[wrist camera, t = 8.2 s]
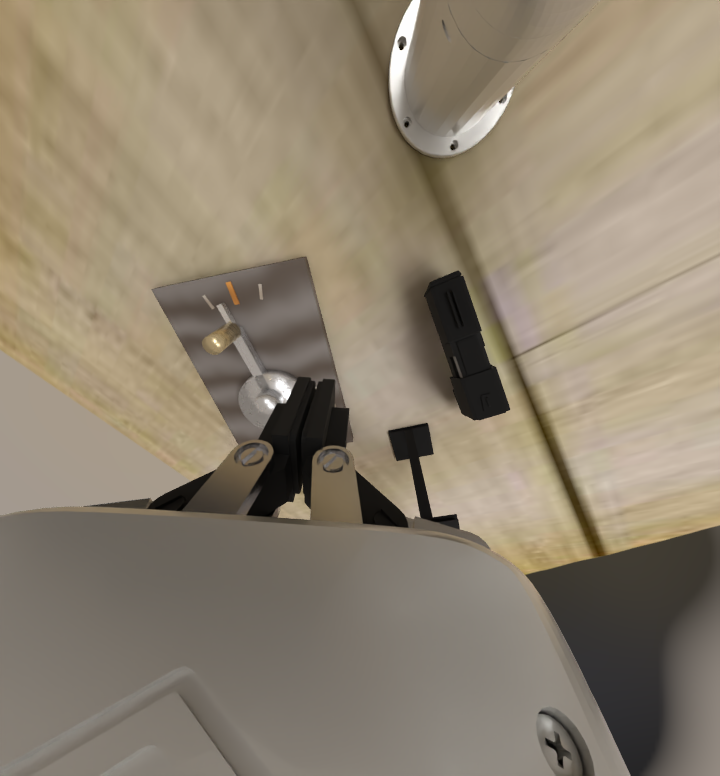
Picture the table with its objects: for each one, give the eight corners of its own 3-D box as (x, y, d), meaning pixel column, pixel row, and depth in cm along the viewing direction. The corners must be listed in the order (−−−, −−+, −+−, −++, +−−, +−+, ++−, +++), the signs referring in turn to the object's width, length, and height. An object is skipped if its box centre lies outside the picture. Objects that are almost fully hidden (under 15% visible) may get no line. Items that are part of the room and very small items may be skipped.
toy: (456, 415, 46) (478, 444, 31) (418, 306, 45) (422, 284, 30) (487, 406, 45) (524, 432, 30) (448, 294, 44) (468, 264, 29)
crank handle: (322, 420, 47) (316, 448, 41) (262, 434, 49) (248, 463, 43) (261, 289, 36) (239, 301, 30) (186, 315, 38) (151, 331, 32)
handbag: (433, 456, 54) (496, 665, 28) (397, 462, 55) (425, 669, 29) (426, 416, 48) (494, 627, 23) (386, 424, 50) (408, 633, 24)
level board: (158, 287, 38) (138, 292, 34) (306, 256, 35) (300, 259, 32) (247, 450, 54) (239, 464, 50) (353, 436, 51) (352, 450, 48)
